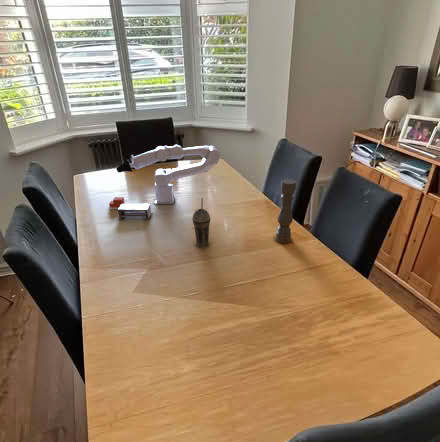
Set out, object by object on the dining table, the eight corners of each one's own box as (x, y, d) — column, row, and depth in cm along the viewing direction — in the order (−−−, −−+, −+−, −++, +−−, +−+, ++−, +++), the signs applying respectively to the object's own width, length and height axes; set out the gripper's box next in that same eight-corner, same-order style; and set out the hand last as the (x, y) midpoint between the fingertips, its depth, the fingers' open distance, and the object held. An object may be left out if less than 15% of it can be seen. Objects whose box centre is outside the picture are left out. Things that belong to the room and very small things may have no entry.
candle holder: (290, 243, 150) (296, 184, 135) (275, 242, 151) (280, 183, 136) (290, 236, 155) (297, 179, 140) (276, 235, 156) (281, 178, 141)
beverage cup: (190, 246, 148) (187, 200, 137) (199, 239, 154) (197, 194, 142) (205, 250, 146) (204, 203, 134) (214, 243, 151) (213, 197, 139)
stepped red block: (125, 206, 184) (124, 196, 181) (123, 209, 181) (122, 199, 178) (111, 206, 184) (109, 196, 181) (109, 209, 181) (107, 199, 178)
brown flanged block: (151, 213, 176) (150, 203, 173) (148, 219, 171) (147, 209, 168) (123, 213, 177) (121, 203, 174) (119, 219, 171) (117, 209, 168)
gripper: (142, 150, 180) (117, 159, 181) (139, 152, 167) (112, 162, 168) (147, 164, 184) (123, 173, 184) (145, 167, 171) (118, 177, 171)
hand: (118, 169), depth 176 cm, fingers open, 7 cm apart
